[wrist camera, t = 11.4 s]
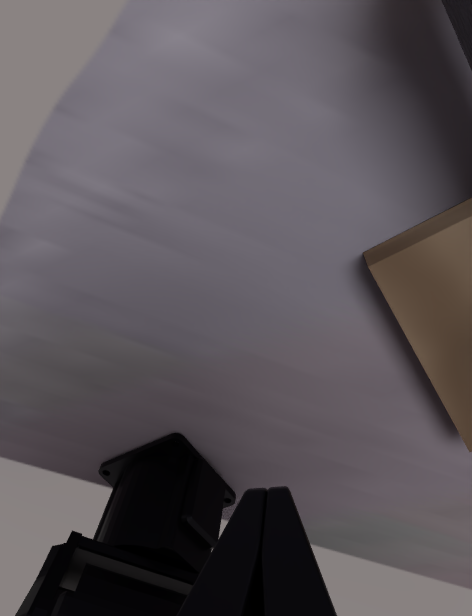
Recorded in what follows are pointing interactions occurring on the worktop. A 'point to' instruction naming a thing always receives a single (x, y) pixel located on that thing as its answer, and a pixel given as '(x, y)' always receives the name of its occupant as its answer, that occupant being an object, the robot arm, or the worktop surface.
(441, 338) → the block
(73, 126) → the worktop surface
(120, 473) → the robot arm
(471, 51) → the amber-knobbed lever
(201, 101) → the worktop surface
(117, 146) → the worktop surface
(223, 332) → the worktop surface
